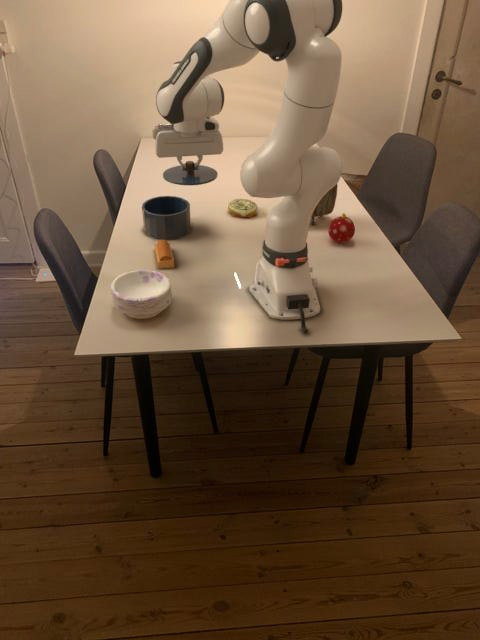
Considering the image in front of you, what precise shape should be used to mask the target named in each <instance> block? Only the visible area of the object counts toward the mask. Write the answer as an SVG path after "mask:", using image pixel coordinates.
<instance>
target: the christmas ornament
mask: <svg viewBox="0 0 480 640" xmlns="http://www.w3.org/2000/svg"><path fill="white" fill-rule="evenodd" d="M327 229H328V231H327V232H328V236H329V237H330V238H331V240H332V241H334V242H335V243H338V244H344V243H347V242H349V241H350V240H352V238H353V237H354V235H355V233H356V226H355V223H354V221H353V220H352V219H351V218H350V217H348V216H347V214H346V213H345V212H344V213H342V215H340V216H337V217H335V218H333V219H332V220H331V222H330V223H329V224H328V227H327Z"/></svg>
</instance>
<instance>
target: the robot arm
mask: <svg viewBox="0 0 480 640" xmlns="http://www.w3.org/2000/svg"><path fill="white" fill-rule="evenodd" d="M342 15H343V0H229V1H228V2H227V4H226V6H225V8H224V10H223V11H222V13H221V15H220V16H219V18H218V19H217V21H216V22H215V23H214V24H213V25H212V26H211V28H210V29H209V30H208V31H207V32H206V33H205V34H204V35H202V37H200V38H199V39H198V40H197V41H196V42H195V43H194V44H193V45H192V46H191V47H190V48H189V50H188V51H187V52H186V54H185V56H183V58H182V59H181V61H175V62H173V63H172V64H171V68H170V76H169V78H168V79H167V80H165V81H164V82H162V83H161V84H160V86H159V88H158V89H157V93H156V96H155V105H156V109H157V112H158V114H159V115H160V116H161V117H162V118H163V119H164V120H165V121H166V122H168V123H158V124H156V125H154V127H153V128H152V138H153V139H154V151H155V155H156V156H157V158H160V159H161V158H162V159H163V158H164V159H165V158H176V160H177V162H178V164H179V166H180V165H181V171H186V162H184V163H183V161H182V160H183V157H196V158H197V160H196V161H195V162H194V170H199V165H201V163H202V161H203V159H204V158H203V156H211V155H212V156H213V155H214V156H215V155H222V154H223V152H224V142H223V141H224V140H223V135H222V133H221V131H220V130H219V129H220V124H219V121H218V120H217V119H216V118H215V116H217V115H220V113H221V112H222V110H223V108H224V106H225V105H224V104H225V91H224V88H223V86H222V84H221V83H220V82H219V81H218V80H217V79H216V78H212V77H211V76H210V75H212V74H215V73H218V72H221V71H222V72H223V71H226V70H230V69H235V68H239V67H241V66H244V65H246V64H248V63H249V62H251V61H252V60H253V59H254V58H255V57H256V56H257V55H258V54H259V53H260V52H261V53H263V54H265V55H267V56H268V57H269V58H270V59H271V60H272V61H273V62H278V63H279V62H281V61H284V60H285V62H286V65H287V66H286V67H287V72H286V79H285V83H284V87H283V88H284V89H283V94H282V98H281V103H280V108H279V112H278V116H277V119H276V123H275V125H274V127H273V129H272V130H271V132H270V134H269V136H268V137H267V139H266V140H265V141H264V142H263V143H262V144H261V145H260V147H259V148H257V149H256V150H255V151H254V152H252V153H251V154H249V155H247V157H246V158H245V159H244V161H243V162H242V164H241V166H240V167H241V168H240V173H239V175H240V177H239V179H240V182H241V186H242V187H243V190H244V191H245V193H247V194H248V195H249V196H250V197H252V198H260V199H275V198H282V199H281V201H280V202H278V203H277V204H276V205H274V206H273V207H272V208H271V209H270V210H269V212H268V213H267V214H266V217H265V231H264V232H265V233H264V240H263V242H262V246H261V247H262V248H261V249H262V256H261V258H260V259H259V260H258V261H257V263H256V267H255V275H254V282H253V283H252V284H251V285H249V288H248V291H249V293H251V294H252V296H253V297H254V299H255V300H256V301H257V302H258V303H259V305H260V306H261V307H262V308H263V310H264V311H265V312H266V314H267V315H268V316H269V317H270V318H271V319H274V320H284V321H290V320H300V325H301V330H302V332H303V333H304V334H308V333H309V330H308V329H307V327H306V319H308V318H310V317H314V316H316V315H318V314H319V313H321V306H320V302H319V297H318V294H317V291H316V287H318V278H316V277H313V278H312V273H313V267H310V262H309V256H308V255H309V249H308V242H307V239H308V233H309V228H310V224H311V220H312V217H311V216H312V214H313V212H314V210H315V208H316V206H317V205H318V203H319V201H320V200H321V199H322V197H323V196H324V195H325V194H326V193H327V192H328V191H329V190H330V189H332V188H333V187H334V186H335V185H336V184H337V185H338V184H339V181H340V179H341V176H342V174H343V164H342V159H341V156H340V155H339V154H338V152H337V151H336V150H335V149H333V148H332V147H326V146H318V145H315V144H317V143H318V142H320V141H321V140H322V139H323V138H324V136H325V135H326V133H327V131H328V127H329V123H330V120H331V116H332V113H333V109H334V105H335V102H336V98H337V94H338V89H339V85H340V79H341V72H342V71H341V69H342V58H343V56H342V51H341V48H340V46H339V44H338V43H336V41H334V40H333V39H331V38H329V37H328V36H329V35H331V34H332V33H333V32H334V31H335V30H336V29H337V28H338V26H339V24H340V22H341V19H342ZM234 277H235V280H236V282H237V285H238V288H239V289H241V288H242V285H241V282H240V280H239V278H238V275H237V272H234Z"/></svg>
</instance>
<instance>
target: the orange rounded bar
mask: <svg viewBox="0 0 480 640" xmlns="http://www.w3.org/2000/svg"><path fill="white" fill-rule="evenodd" d="M154 250H155V251H154V252H155V257H156V263H157V269H158V270H160V269H170V268H175V258H174V254H173V250H172V245H171V242H168V240H164V239H158V241H157V242H156V243H154Z"/></svg>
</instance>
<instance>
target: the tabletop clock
mask: <svg viewBox="0 0 480 640" xmlns="http://www.w3.org/2000/svg"><path fill="white" fill-rule="evenodd" d="M337 196H338V183H337V184H336V185H335V186H334V187H333V188H332V189H330V190H329V191H328V192H327V193H326V194H325V195H324V196H323V197H322V199H321V200H320V201H319V203H318V205H317V206H316V208H315V210H314V212H313V214H312V216H311V220H310V224H311V226H315V225H316V221H315V218H318V217H319V218H320V219H321V218H323V217H324V216H328V215H331V214H332V213H333V211H334V209H335V206H336V201H337Z"/></svg>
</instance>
